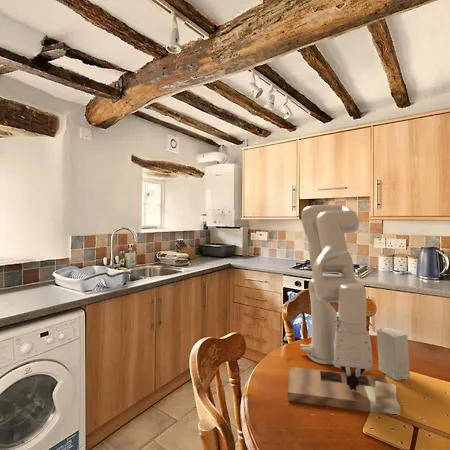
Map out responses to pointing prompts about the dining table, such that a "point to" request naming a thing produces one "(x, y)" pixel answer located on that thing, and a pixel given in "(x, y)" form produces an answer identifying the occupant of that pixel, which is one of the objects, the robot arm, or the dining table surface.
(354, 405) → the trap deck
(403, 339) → the skincare box
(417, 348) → the dining table surface
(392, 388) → the maple block
